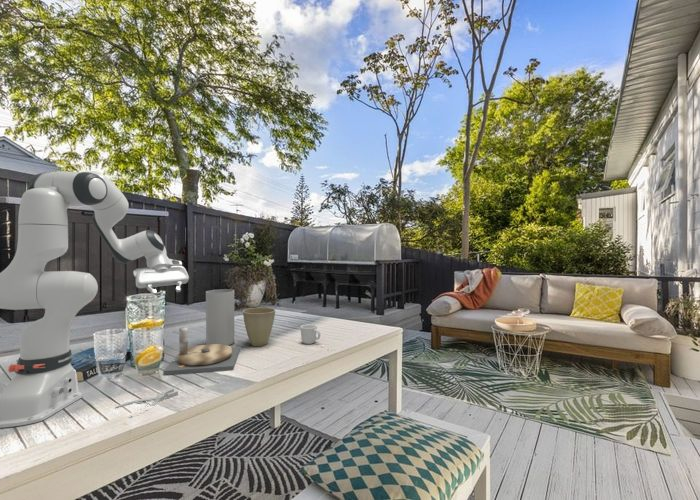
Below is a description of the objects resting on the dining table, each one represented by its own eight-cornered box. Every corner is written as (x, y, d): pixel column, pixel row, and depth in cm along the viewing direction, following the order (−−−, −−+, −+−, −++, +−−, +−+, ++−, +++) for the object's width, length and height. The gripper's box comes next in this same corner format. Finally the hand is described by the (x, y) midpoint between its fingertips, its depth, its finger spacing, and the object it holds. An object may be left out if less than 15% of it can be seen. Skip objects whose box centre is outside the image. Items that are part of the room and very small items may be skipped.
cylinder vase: (221, 338, 168) (220, 288, 167) (240, 341, 162) (239, 290, 162) (200, 345, 156) (199, 292, 156) (219, 349, 151) (219, 293, 150)
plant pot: (264, 350, 150) (263, 314, 149) (236, 346, 155) (236, 312, 154) (281, 340, 164) (281, 308, 164) (255, 338, 169) (255, 306, 168)
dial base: (233, 369, 126) (233, 365, 126) (163, 375, 121) (163, 370, 121) (239, 350, 150) (239, 346, 150) (181, 353, 144) (181, 349, 144)
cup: (325, 342, 161) (325, 326, 161) (314, 347, 154) (314, 329, 154) (307, 339, 167) (307, 323, 167) (296, 343, 160) (296, 326, 160)
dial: (231, 346, 148) (231, 319, 148) (232, 361, 130) (232, 330, 129) (180, 351, 141) (180, 323, 141) (174, 368, 122) (174, 335, 122)
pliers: (114, 403, 97) (167, 385, 109) (115, 409, 97) (167, 390, 109) (130, 413, 91) (184, 393, 104) (130, 419, 91) (184, 398, 104)
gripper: (133, 264, 139) (139, 291, 133) (185, 261, 154) (193, 285, 148) (130, 273, 143) (137, 300, 137) (181, 269, 157) (189, 293, 151)
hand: (166, 292), depth 142 cm, fingers open, 8 cm apart
